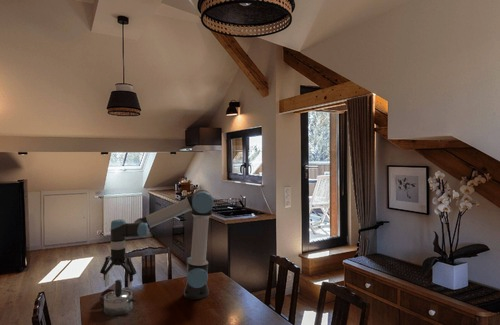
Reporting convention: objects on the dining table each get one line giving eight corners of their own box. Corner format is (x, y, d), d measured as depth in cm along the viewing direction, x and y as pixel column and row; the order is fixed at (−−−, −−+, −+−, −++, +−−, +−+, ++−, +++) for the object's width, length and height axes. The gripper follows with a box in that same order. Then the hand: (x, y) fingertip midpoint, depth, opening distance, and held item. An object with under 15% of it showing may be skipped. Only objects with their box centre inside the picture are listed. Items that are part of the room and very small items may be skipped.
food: (117, 304, 197) (117, 289, 197) (100, 306, 195) (99, 290, 195) (123, 290, 218) (122, 276, 218) (107, 292, 216) (107, 277, 216)
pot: (142, 305, 196) (142, 291, 195) (129, 316, 181) (129, 301, 181) (108, 303, 199) (108, 288, 199) (92, 314, 184) (92, 298, 184)
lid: (132, 293, 195) (132, 277, 194) (122, 301, 184) (122, 284, 184) (114, 292, 196) (114, 276, 196) (103, 300, 185) (103, 283, 185)
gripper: (142, 247, 191) (142, 285, 192) (101, 245, 195) (101, 282, 196) (136, 250, 184) (136, 290, 184) (93, 249, 188) (93, 287, 188)
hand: (118, 286), depth 190 cm, fingers open, 13 cm apart
